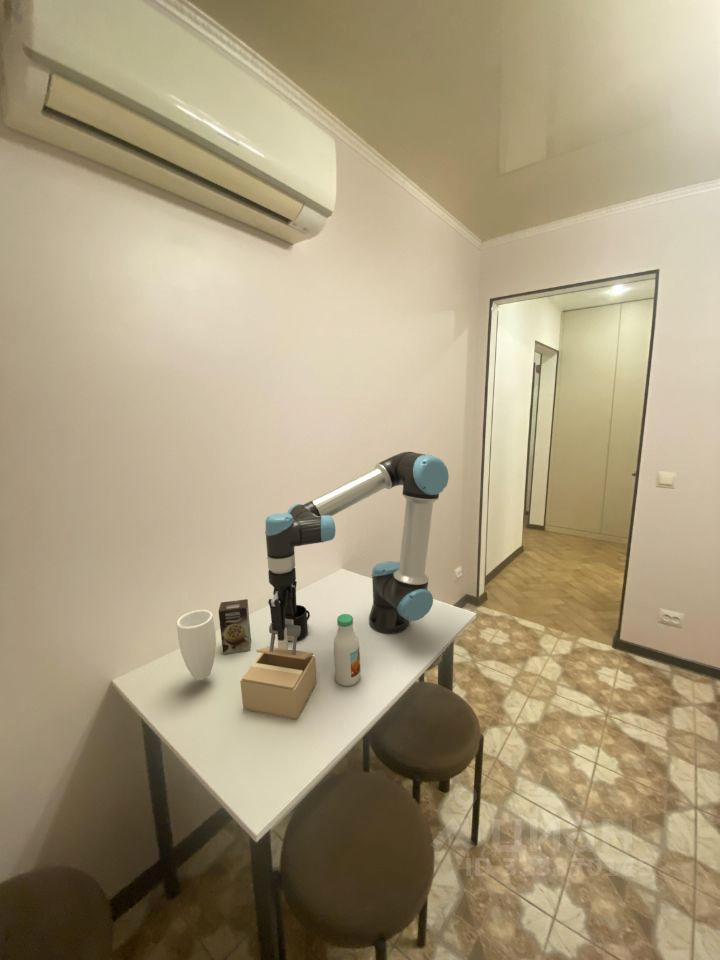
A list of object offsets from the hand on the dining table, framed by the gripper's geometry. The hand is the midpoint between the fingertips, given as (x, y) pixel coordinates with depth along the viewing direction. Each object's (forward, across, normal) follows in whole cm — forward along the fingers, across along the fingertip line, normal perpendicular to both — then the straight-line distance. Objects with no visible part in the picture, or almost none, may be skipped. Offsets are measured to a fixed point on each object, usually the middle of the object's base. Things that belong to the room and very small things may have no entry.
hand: (286, 644), depth 113 cm
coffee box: (+13, -12, -25) cm, 31 cm away
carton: (+13, +5, 0) cm, 14 cm away
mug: (+13, -25, -8) cm, 29 cm away
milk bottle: (+13, -6, +17) cm, 22 cm away
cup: (+13, +5, -26) cm, 29 cm away
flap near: (+2, +1, 0) cm, 3 cm away
